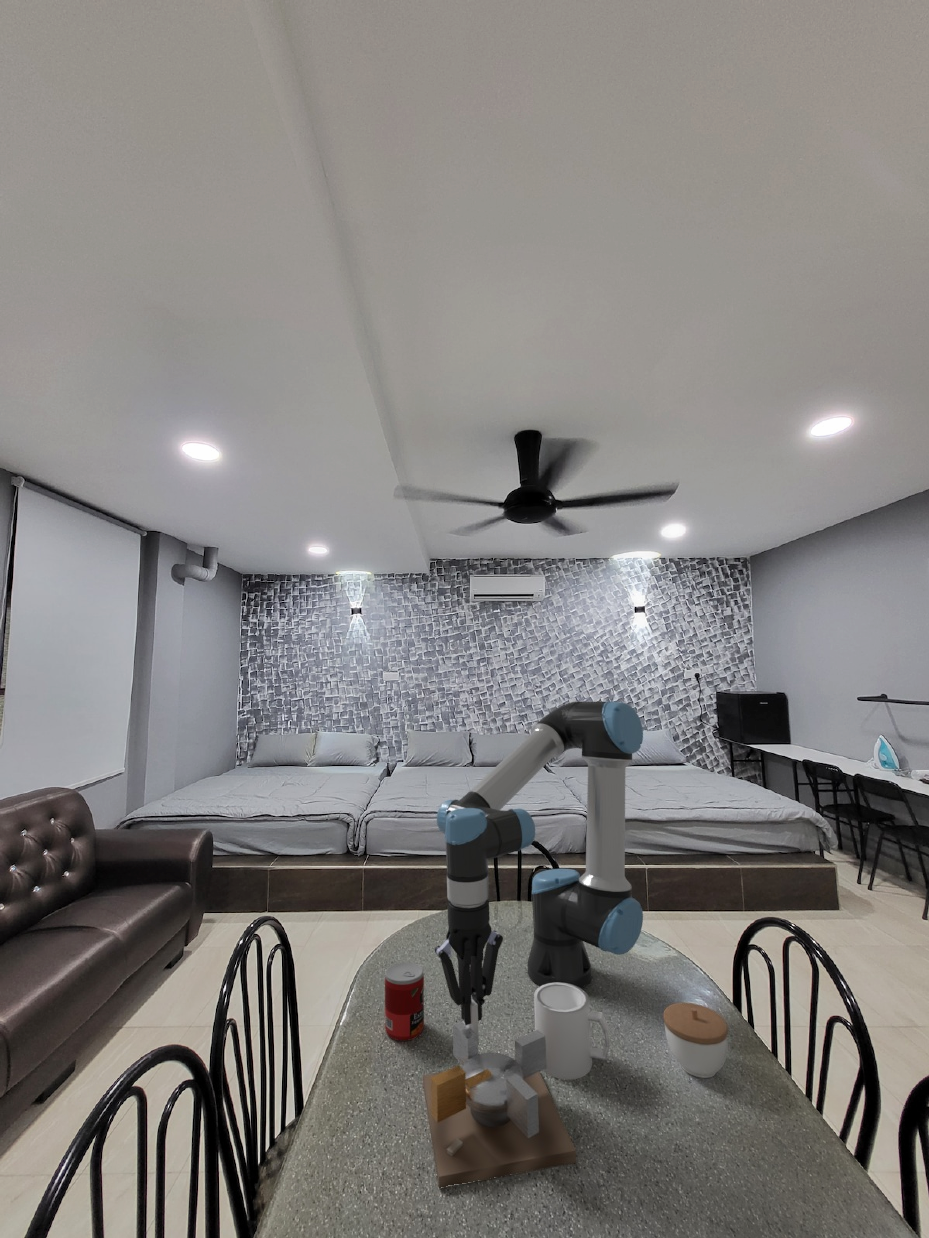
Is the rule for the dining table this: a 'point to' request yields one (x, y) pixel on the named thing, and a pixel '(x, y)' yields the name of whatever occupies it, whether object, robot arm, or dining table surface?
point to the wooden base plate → (496, 1141)
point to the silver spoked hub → (491, 1080)
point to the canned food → (404, 1001)
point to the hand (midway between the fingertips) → (472, 1040)
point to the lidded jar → (696, 1038)
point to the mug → (568, 1030)
